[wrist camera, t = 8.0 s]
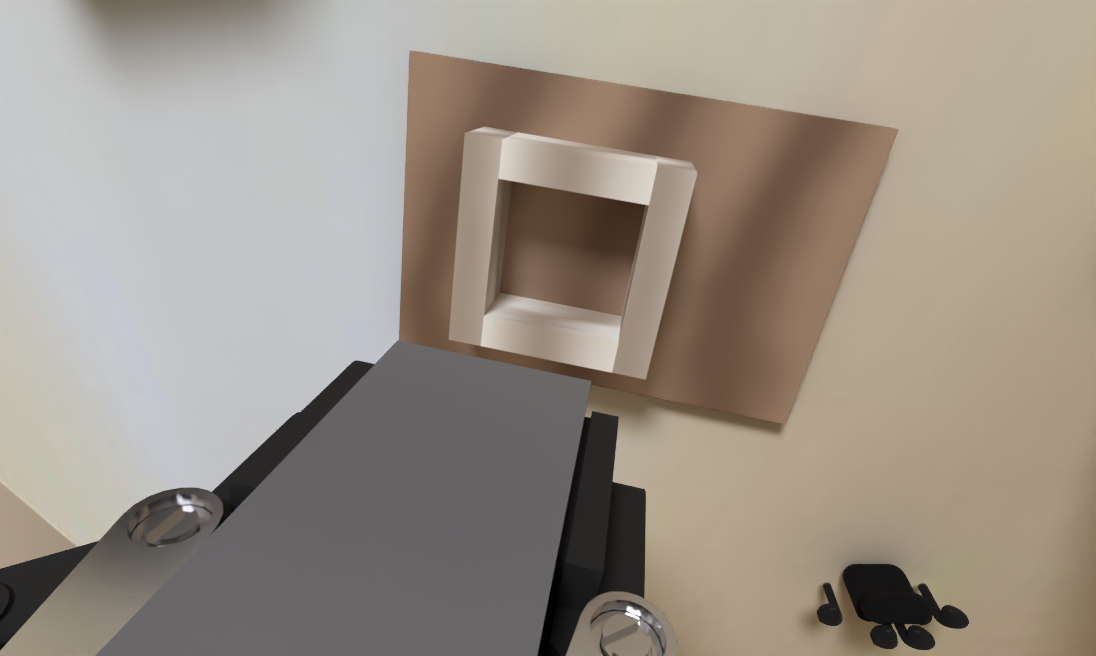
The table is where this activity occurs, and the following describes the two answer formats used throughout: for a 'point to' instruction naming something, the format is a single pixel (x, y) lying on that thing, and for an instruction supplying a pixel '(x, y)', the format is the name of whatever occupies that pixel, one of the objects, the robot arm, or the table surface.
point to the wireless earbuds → (890, 606)
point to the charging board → (627, 231)
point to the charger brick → (390, 524)
